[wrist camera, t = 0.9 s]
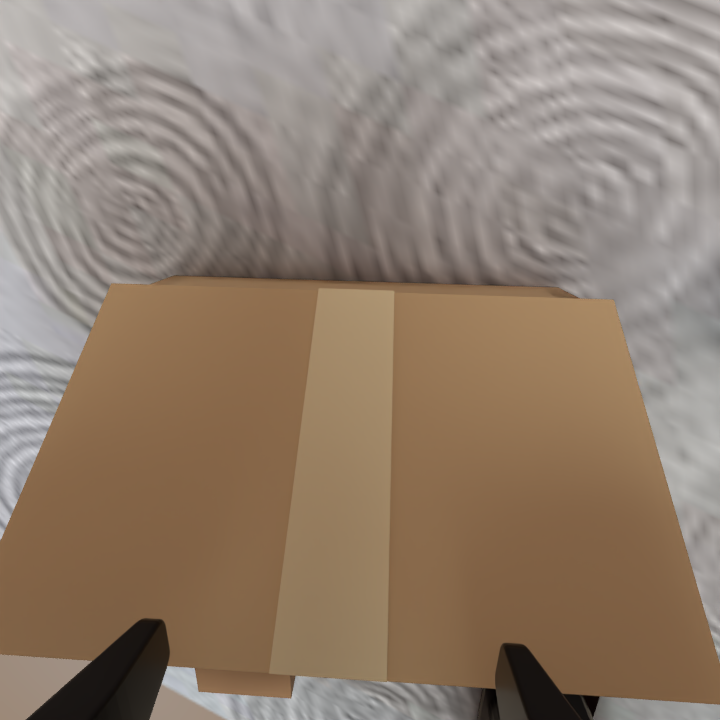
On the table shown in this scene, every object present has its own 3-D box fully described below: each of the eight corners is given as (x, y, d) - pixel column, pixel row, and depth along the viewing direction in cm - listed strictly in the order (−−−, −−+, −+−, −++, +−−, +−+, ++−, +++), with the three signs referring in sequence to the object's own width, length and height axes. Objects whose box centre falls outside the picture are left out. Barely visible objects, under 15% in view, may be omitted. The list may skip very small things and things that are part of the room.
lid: (711, 699, 9) (735, 706, 8) (-25, 648, 10) (-51, 651, 9) (604, 311, 14) (615, 297, 13) (120, 294, 15) (109, 281, 14)
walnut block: (306, 614, 25) (291, 698, 21) (229, 609, 25) (198, 691, 21) (305, 553, 24) (287, 630, 19) (222, 548, 24) (188, 623, 19)
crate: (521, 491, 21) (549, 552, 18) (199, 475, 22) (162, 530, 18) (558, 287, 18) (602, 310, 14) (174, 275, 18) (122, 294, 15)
